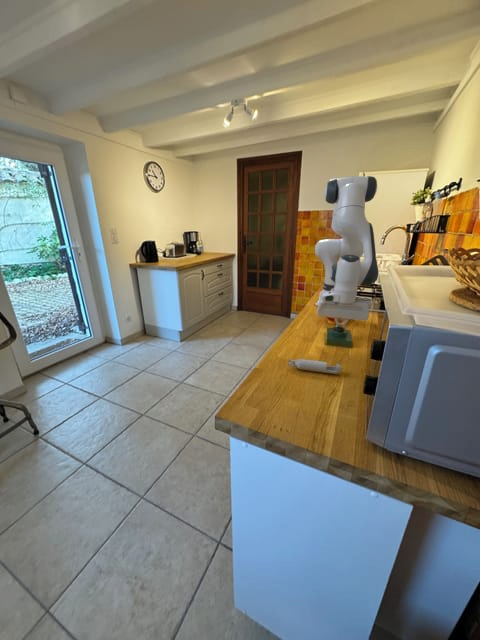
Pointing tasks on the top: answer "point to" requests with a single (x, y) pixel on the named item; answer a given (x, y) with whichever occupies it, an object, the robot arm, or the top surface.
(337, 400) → the top surface
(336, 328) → the pump
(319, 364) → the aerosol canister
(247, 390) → the top surface
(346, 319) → the robot arm
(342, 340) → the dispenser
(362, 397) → the top surface
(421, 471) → the top surface
